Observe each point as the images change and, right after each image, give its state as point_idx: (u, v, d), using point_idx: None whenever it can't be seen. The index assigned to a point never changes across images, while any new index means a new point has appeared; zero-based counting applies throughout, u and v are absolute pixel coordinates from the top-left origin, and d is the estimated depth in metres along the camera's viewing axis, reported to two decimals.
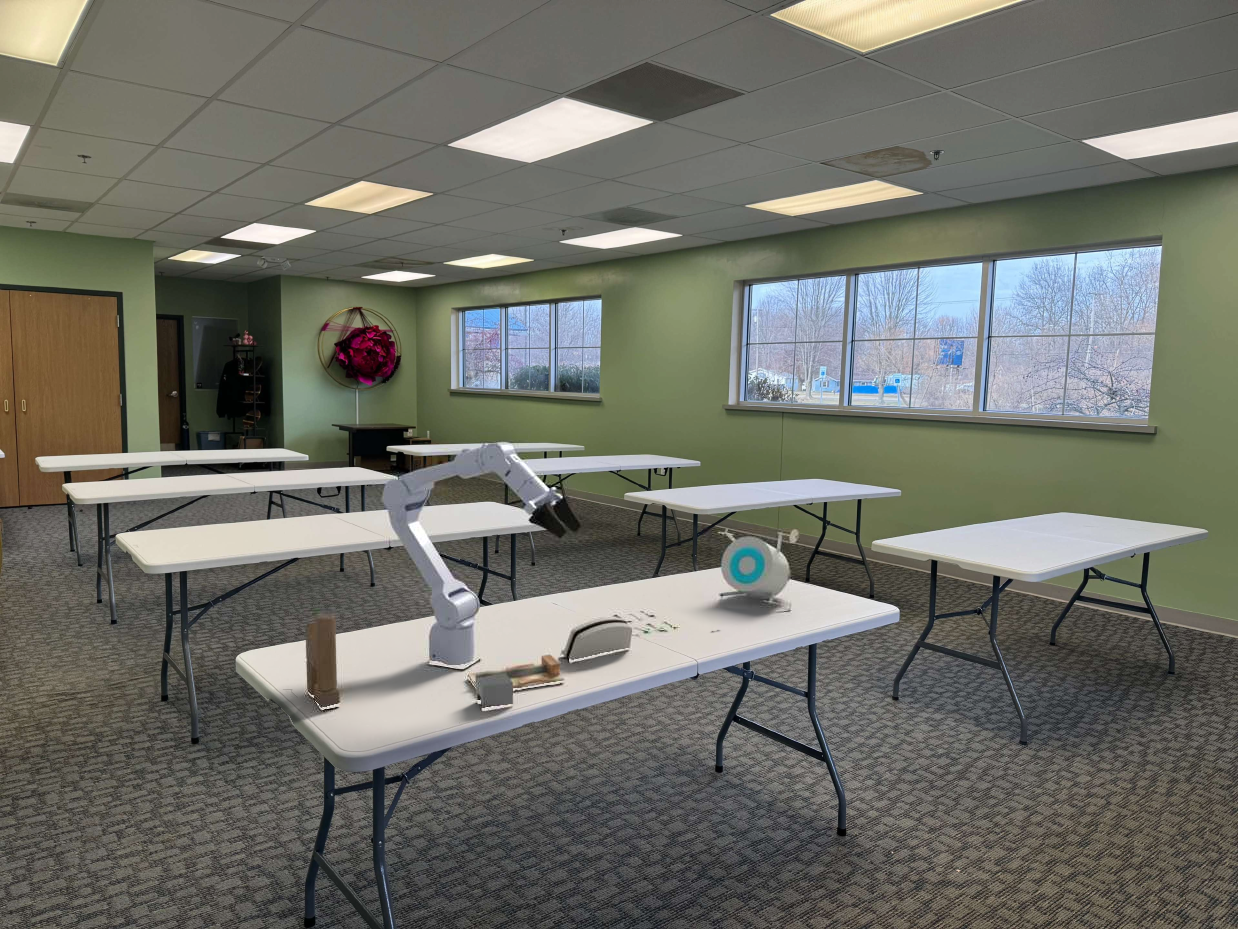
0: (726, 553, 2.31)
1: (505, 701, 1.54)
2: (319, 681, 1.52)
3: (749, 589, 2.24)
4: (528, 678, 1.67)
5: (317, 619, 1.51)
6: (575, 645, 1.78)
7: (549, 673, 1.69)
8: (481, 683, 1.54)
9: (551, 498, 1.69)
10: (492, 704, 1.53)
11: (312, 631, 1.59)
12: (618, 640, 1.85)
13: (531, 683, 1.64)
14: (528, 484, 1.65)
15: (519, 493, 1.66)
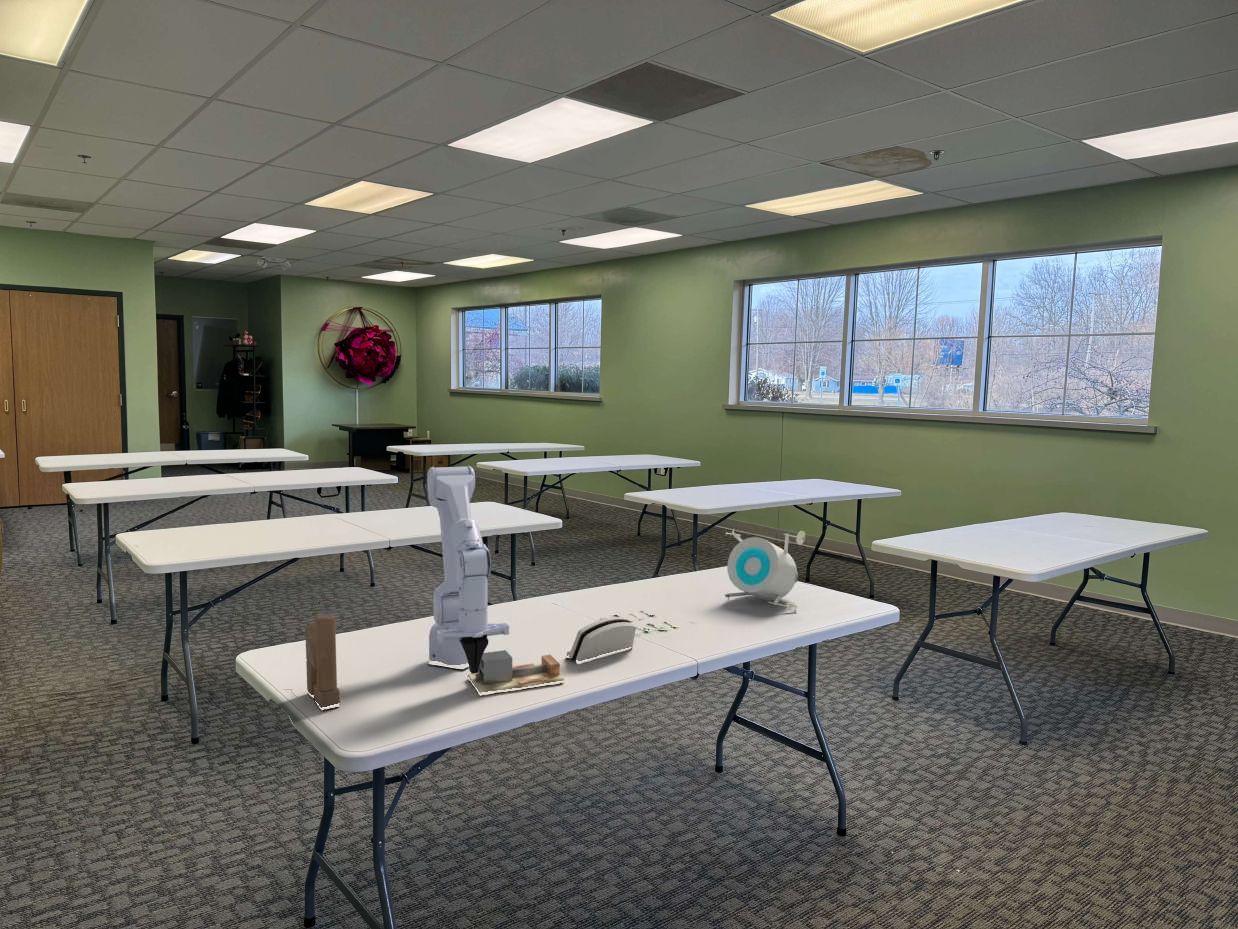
0: (732, 554, 2.30)
1: (505, 675, 1.64)
2: (319, 681, 1.52)
3: (754, 590, 2.22)
4: (528, 678, 1.67)
5: (317, 619, 1.51)
6: (583, 646, 1.78)
7: (549, 673, 1.69)
8: (482, 658, 1.64)
9: None
10: (493, 678, 1.63)
11: (312, 631, 1.59)
12: (622, 639, 1.85)
13: (531, 683, 1.64)
14: (463, 613, 1.61)
15: None
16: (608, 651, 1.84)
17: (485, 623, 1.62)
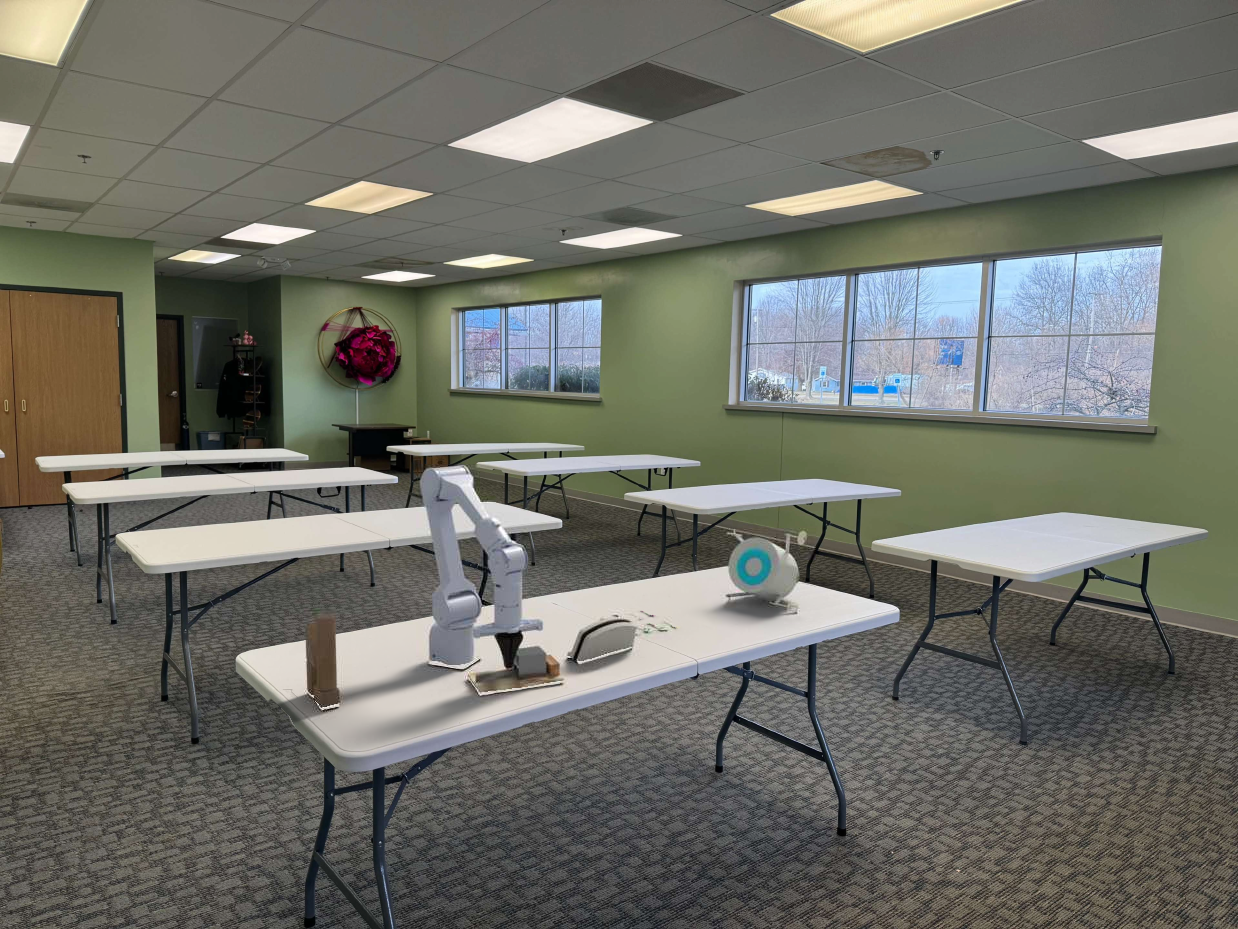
0: (733, 554, 2.30)
1: (539, 670, 1.67)
2: (319, 681, 1.52)
3: (755, 590, 2.22)
4: None
5: (317, 619, 1.51)
6: (584, 646, 1.78)
7: (549, 673, 1.69)
8: (517, 654, 1.67)
9: None
10: (527, 673, 1.66)
11: (312, 631, 1.59)
12: (623, 639, 1.85)
13: (531, 683, 1.64)
14: (498, 609, 1.64)
15: None
16: (609, 651, 1.84)
17: (520, 619, 1.65)
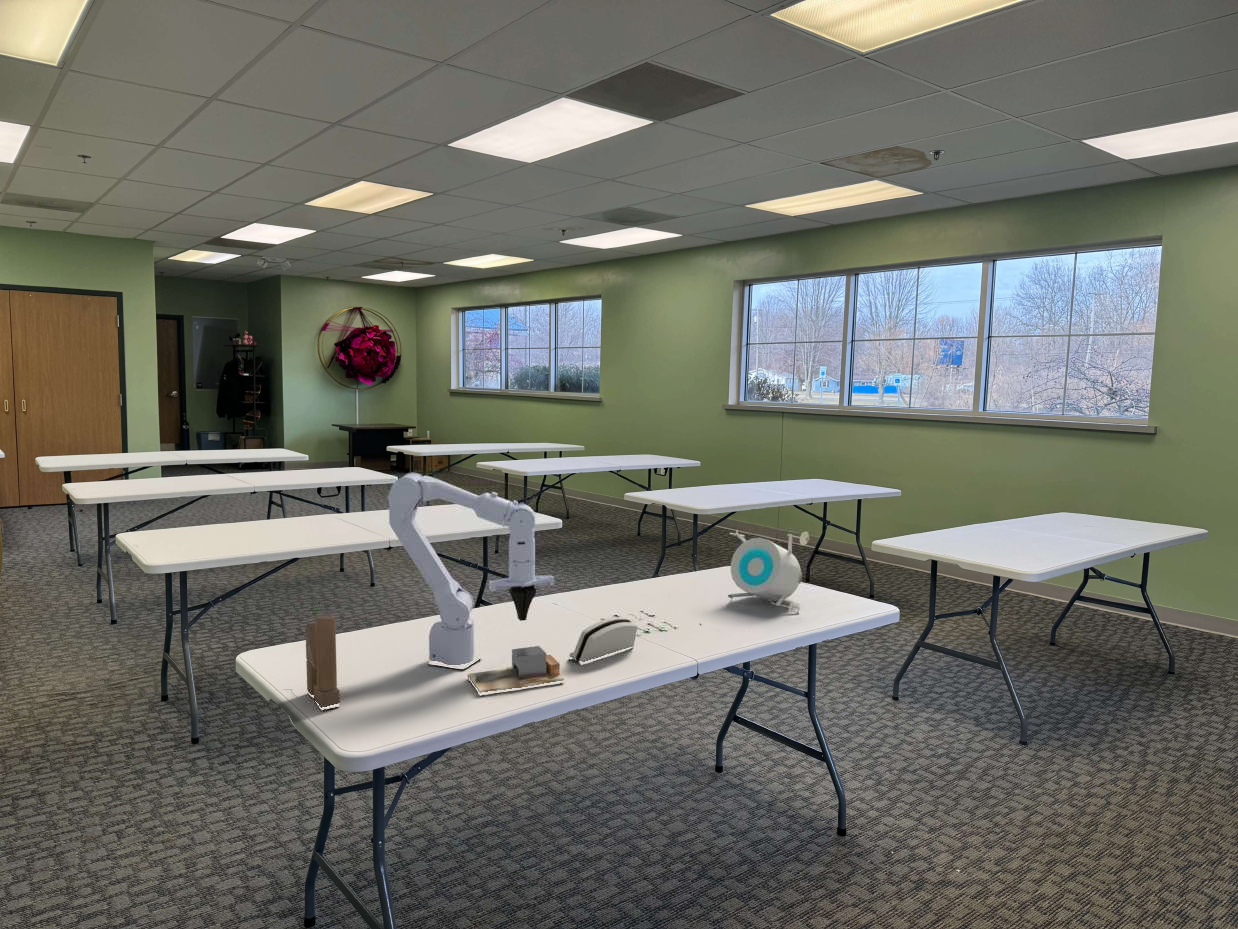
0: (736, 554, 2.30)
1: (539, 670, 1.67)
2: (319, 681, 1.52)
3: (757, 591, 2.22)
4: None
5: (317, 619, 1.51)
6: (587, 647, 1.77)
7: (549, 673, 1.69)
8: (517, 654, 1.67)
9: None
10: (527, 673, 1.66)
11: (312, 631, 1.59)
12: (624, 639, 1.85)
13: (531, 683, 1.64)
14: (513, 564, 1.75)
15: None
16: (610, 651, 1.84)
17: (533, 574, 1.77)
